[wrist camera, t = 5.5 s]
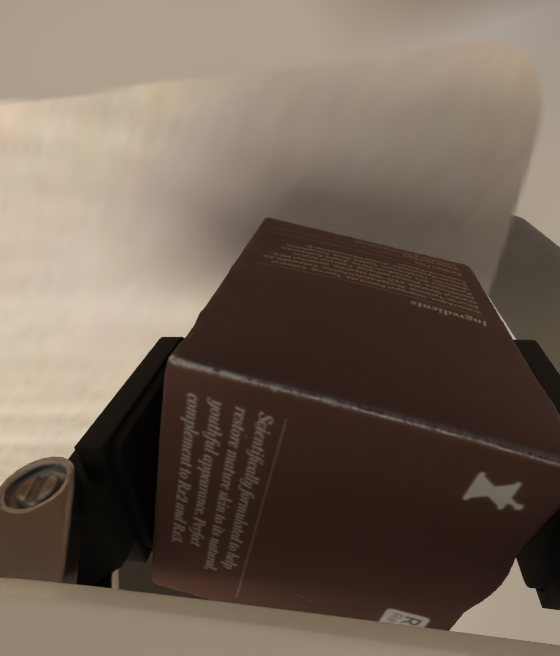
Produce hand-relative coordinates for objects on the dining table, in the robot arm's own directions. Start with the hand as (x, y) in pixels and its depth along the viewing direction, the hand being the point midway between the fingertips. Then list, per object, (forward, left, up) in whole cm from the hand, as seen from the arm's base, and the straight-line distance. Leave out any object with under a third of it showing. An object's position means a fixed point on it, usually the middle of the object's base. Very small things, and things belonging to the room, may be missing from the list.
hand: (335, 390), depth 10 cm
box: (0, 0, -3) cm, 3 cm away
